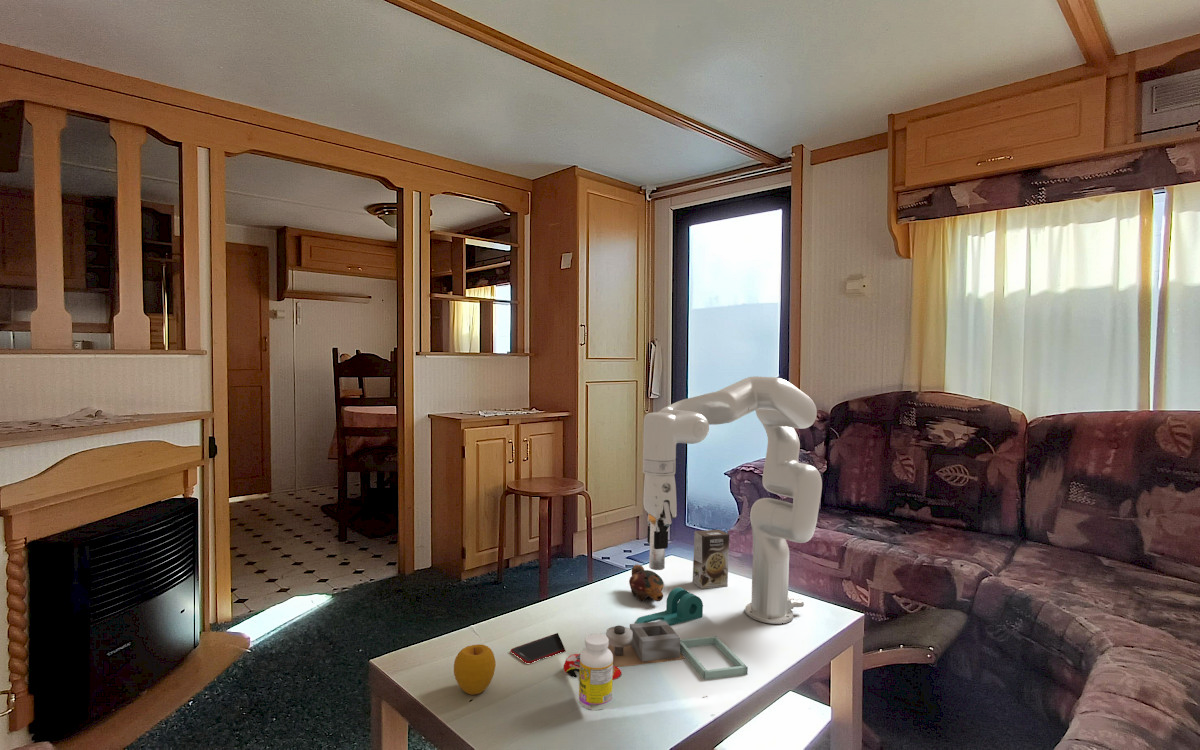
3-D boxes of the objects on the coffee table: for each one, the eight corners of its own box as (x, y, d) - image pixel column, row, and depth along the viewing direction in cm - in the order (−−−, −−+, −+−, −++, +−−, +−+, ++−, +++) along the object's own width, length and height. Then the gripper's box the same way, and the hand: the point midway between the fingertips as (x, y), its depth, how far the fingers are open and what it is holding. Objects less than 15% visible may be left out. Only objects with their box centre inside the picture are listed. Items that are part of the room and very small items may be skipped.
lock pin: (662, 563, 142) (663, 512, 141) (669, 569, 137) (670, 516, 137) (644, 564, 140) (645, 513, 140) (651, 571, 136) (652, 518, 136)
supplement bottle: (577, 693, 123) (579, 631, 123) (610, 692, 124) (611, 630, 123) (579, 712, 116) (581, 647, 116) (613, 711, 117) (615, 646, 117)
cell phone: (579, 647, 144) (579, 643, 143) (527, 666, 134) (527, 662, 134) (559, 635, 149) (559, 631, 149) (508, 653, 140) (509, 649, 140)
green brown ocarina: (643, 585, 183) (646, 560, 182) (674, 607, 170) (677, 579, 169) (617, 589, 178) (619, 563, 178) (646, 612, 165) (649, 583, 165)
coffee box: (702, 589, 181) (703, 536, 181) (691, 581, 187) (693, 530, 187) (728, 586, 184) (730, 534, 184) (717, 579, 190) (719, 528, 190)
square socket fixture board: (667, 643, 146) (668, 612, 146) (685, 665, 135) (686, 632, 135) (599, 650, 142) (600, 618, 141) (612, 674, 131) (613, 640, 131)
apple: (473, 674, 129) (474, 633, 129) (504, 686, 125) (505, 644, 125) (444, 693, 122) (445, 650, 122) (476, 706, 118) (477, 661, 118)
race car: (626, 679, 130) (626, 661, 130) (615, 691, 125) (616, 672, 125) (572, 663, 136) (573, 646, 136) (560, 674, 131) (561, 656, 131)
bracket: (685, 614, 164) (686, 585, 164) (702, 623, 158) (703, 593, 158) (631, 627, 154) (631, 597, 154) (646, 638, 149) (647, 607, 149)
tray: (715, 648, 144) (716, 635, 144) (747, 680, 130) (747, 667, 130) (677, 652, 141) (677, 640, 141) (704, 686, 127) (705, 672, 127)
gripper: (688, 472, 131) (686, 556, 132) (661, 459, 147) (659, 534, 148) (656, 474, 129) (654, 558, 130) (632, 460, 145) (630, 536, 146)
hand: (657, 544), depth 139 cm, fingers closed on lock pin, 3 cm apart
